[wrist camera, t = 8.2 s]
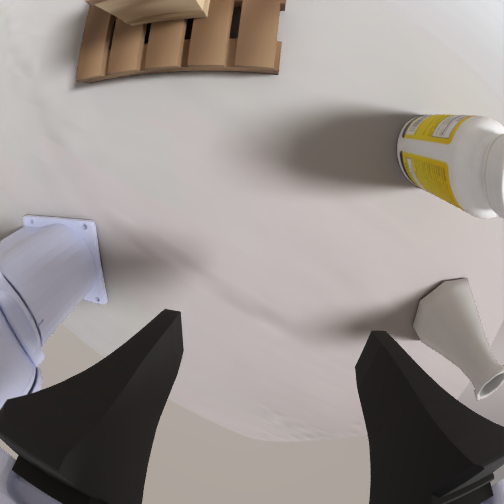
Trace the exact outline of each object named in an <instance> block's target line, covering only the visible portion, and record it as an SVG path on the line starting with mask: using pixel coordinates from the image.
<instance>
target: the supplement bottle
mask: <svg viewBox="0 0 504 504" xmlns="http://www.w3.org/2000/svg"><path fill="white" fill-rule="evenodd" d="M397 156H398V161H399V164H400V167H401V169H402V171H403V173H404V175H405V176H406V177H407V179H408V180H409V181H410V182H411V183H413V184H414V185H416V186H417V187H419V188H421V189H423V190H425V191H427V192H429V193H431V194H433V195H435V196H437V197H439V198H441V199H443V200H445V201H447V202H449V203H450V204H452V205H454V206H456V207H458V208H460V209H462V210H463V211H465V212H467V213H469V214H471V215H473V216H475V217H478V218H483V219H489V218H493V217H496V216H500V217H502V218H504V127H503V126H502V125H501V124H500V123H498V122H497V121H495V120H493V119H490V118H487V117H482V116H469V115H421V116H417V117H414V118H412V119H411V120H410V121H408V122H407V123H406V124H405V125H404V127H403V128H402V130H401V132H400V135H399V138H398V143H397Z"/></svg>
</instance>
